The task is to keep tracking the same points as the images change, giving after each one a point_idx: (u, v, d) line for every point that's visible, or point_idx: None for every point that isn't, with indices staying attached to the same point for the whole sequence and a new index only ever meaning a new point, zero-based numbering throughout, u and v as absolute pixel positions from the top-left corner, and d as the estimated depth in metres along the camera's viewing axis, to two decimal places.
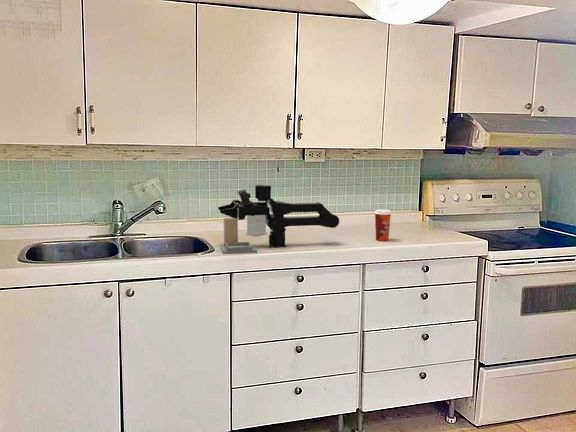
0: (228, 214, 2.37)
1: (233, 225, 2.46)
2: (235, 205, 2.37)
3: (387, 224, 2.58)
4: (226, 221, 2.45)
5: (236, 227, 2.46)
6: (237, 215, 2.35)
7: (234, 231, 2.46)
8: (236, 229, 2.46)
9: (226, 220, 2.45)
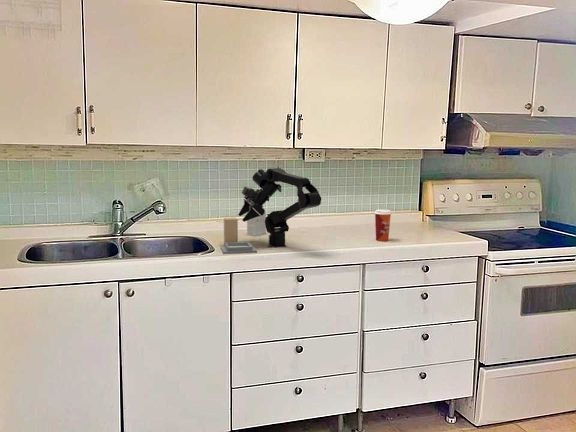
0: (250, 217, 2.44)
1: (233, 225, 2.46)
2: (249, 207, 2.43)
3: (387, 224, 2.58)
4: (226, 221, 2.45)
5: (236, 227, 2.46)
6: (257, 213, 2.42)
7: (234, 231, 2.46)
8: (236, 229, 2.46)
9: (226, 220, 2.45)
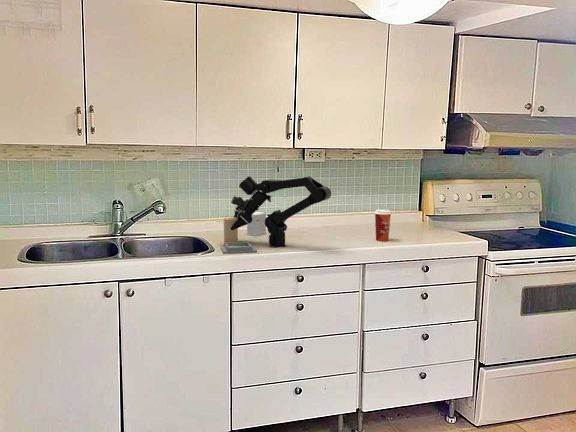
0: (238, 226, 2.44)
1: None
2: (237, 215, 2.43)
3: (387, 224, 2.58)
4: (226, 221, 2.45)
5: None
6: (245, 221, 2.42)
7: (234, 231, 2.46)
8: (236, 229, 2.46)
9: (226, 220, 2.45)
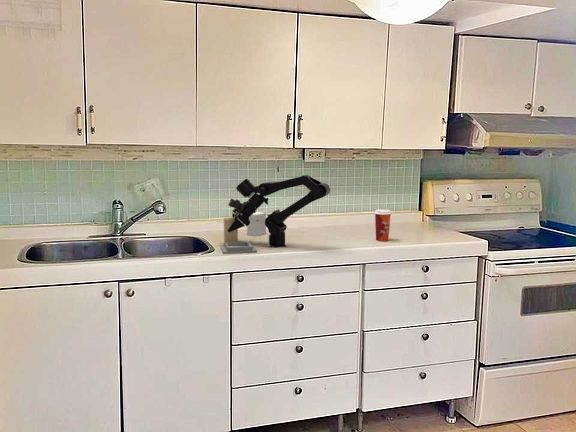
0: (235, 228, 2.45)
1: None
2: (234, 217, 2.44)
3: (387, 224, 2.58)
4: (226, 221, 2.45)
5: None
6: (242, 223, 2.43)
7: (234, 231, 2.46)
8: (236, 229, 2.46)
9: (226, 220, 2.45)
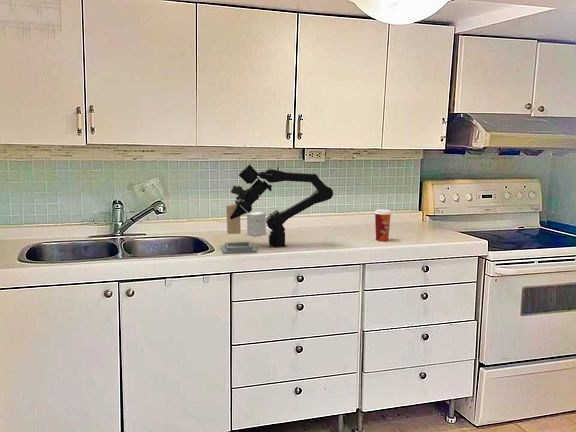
0: (238, 215, 2.40)
1: None
2: None
3: (387, 224, 2.58)
4: (228, 208, 2.41)
5: None
6: (244, 210, 2.38)
7: (237, 218, 2.42)
8: (239, 216, 2.42)
9: (228, 207, 2.41)
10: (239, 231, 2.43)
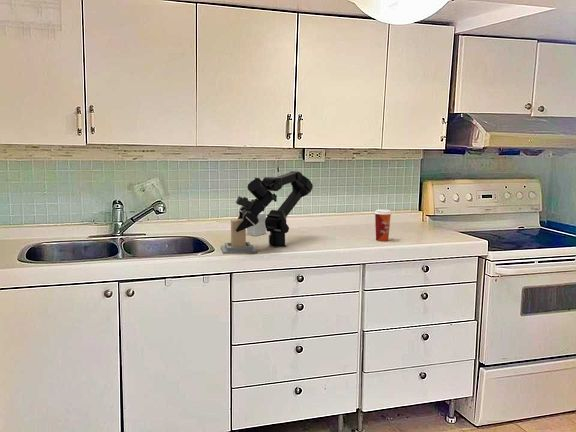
0: (244, 227, 2.33)
1: None
2: (242, 216, 2.32)
3: (387, 224, 2.58)
4: (234, 223, 2.35)
5: (244, 229, 2.36)
6: (251, 222, 2.31)
7: (242, 234, 2.36)
8: (244, 231, 2.36)
9: (234, 222, 2.35)
10: None
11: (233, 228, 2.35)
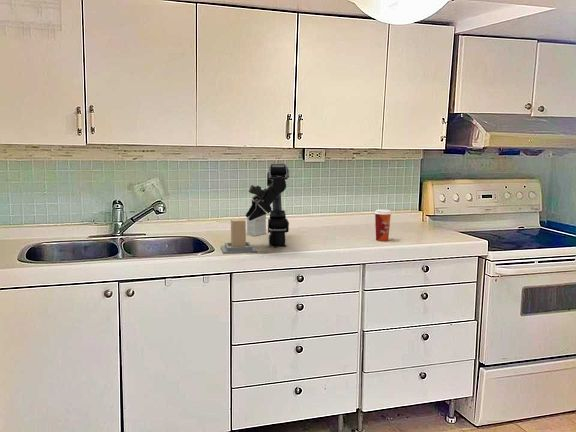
0: (257, 216, 2.33)
1: (241, 227, 2.36)
2: (255, 204, 2.32)
3: (387, 224, 2.58)
4: (234, 223, 2.35)
5: (244, 229, 2.36)
6: (264, 211, 2.31)
7: (242, 234, 2.36)
8: (244, 231, 2.36)
9: (234, 222, 2.35)
10: None
11: (233, 228, 2.35)
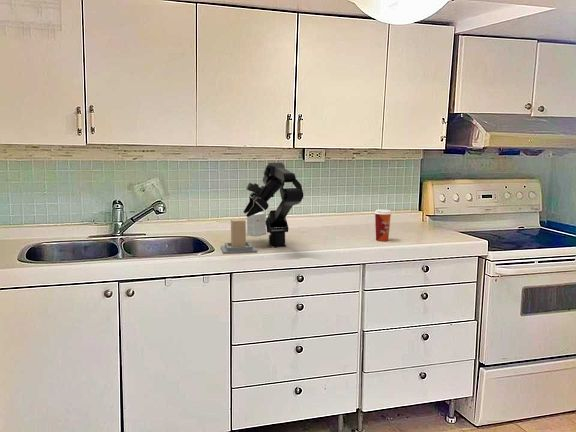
0: (254, 212, 2.43)
1: (241, 227, 2.36)
2: (253, 202, 2.42)
3: (387, 224, 2.58)
4: (234, 223, 2.35)
5: (244, 229, 2.36)
6: (261, 208, 2.41)
7: (242, 234, 2.36)
8: (244, 231, 2.36)
9: (234, 222, 2.35)
10: None
11: (233, 228, 2.35)
